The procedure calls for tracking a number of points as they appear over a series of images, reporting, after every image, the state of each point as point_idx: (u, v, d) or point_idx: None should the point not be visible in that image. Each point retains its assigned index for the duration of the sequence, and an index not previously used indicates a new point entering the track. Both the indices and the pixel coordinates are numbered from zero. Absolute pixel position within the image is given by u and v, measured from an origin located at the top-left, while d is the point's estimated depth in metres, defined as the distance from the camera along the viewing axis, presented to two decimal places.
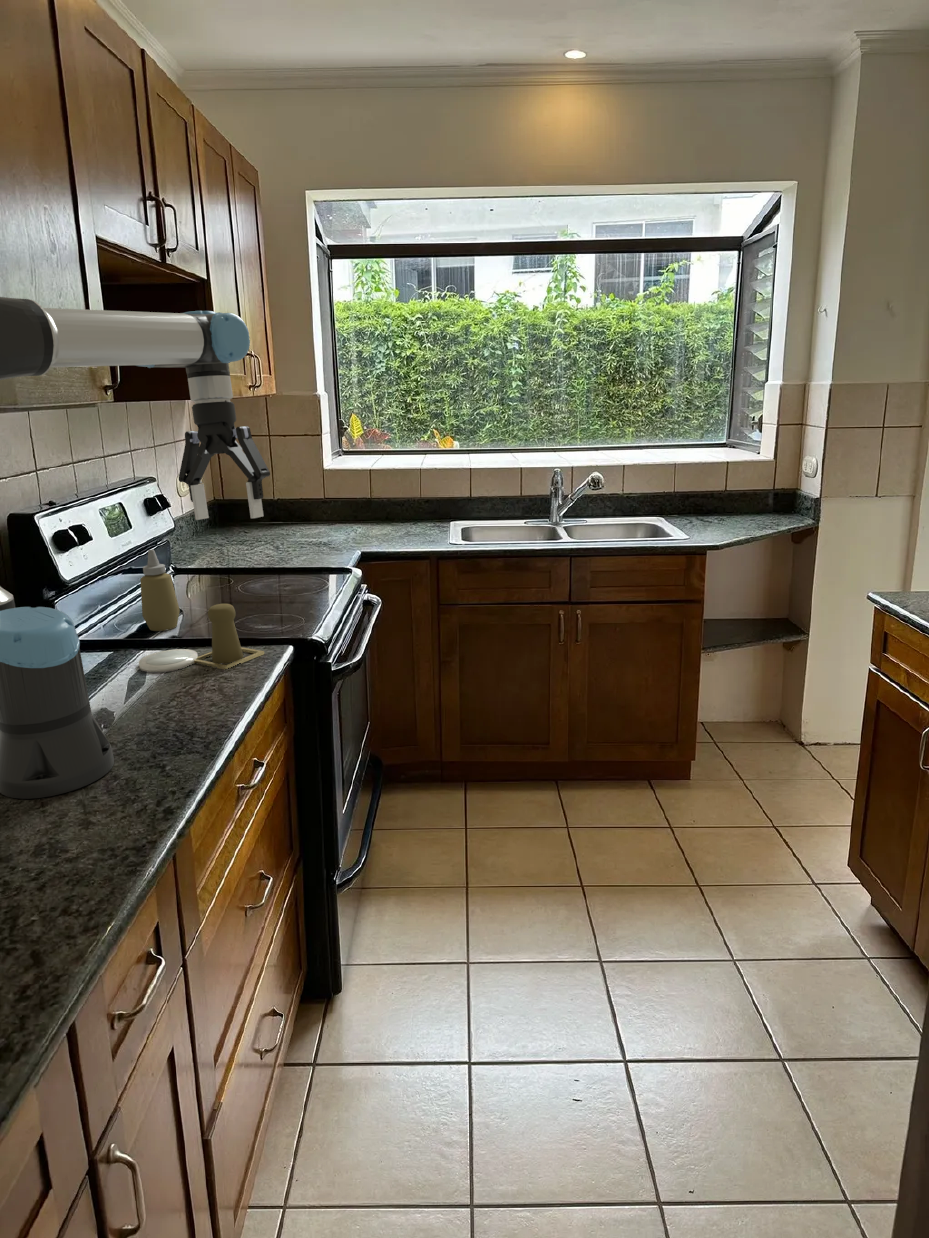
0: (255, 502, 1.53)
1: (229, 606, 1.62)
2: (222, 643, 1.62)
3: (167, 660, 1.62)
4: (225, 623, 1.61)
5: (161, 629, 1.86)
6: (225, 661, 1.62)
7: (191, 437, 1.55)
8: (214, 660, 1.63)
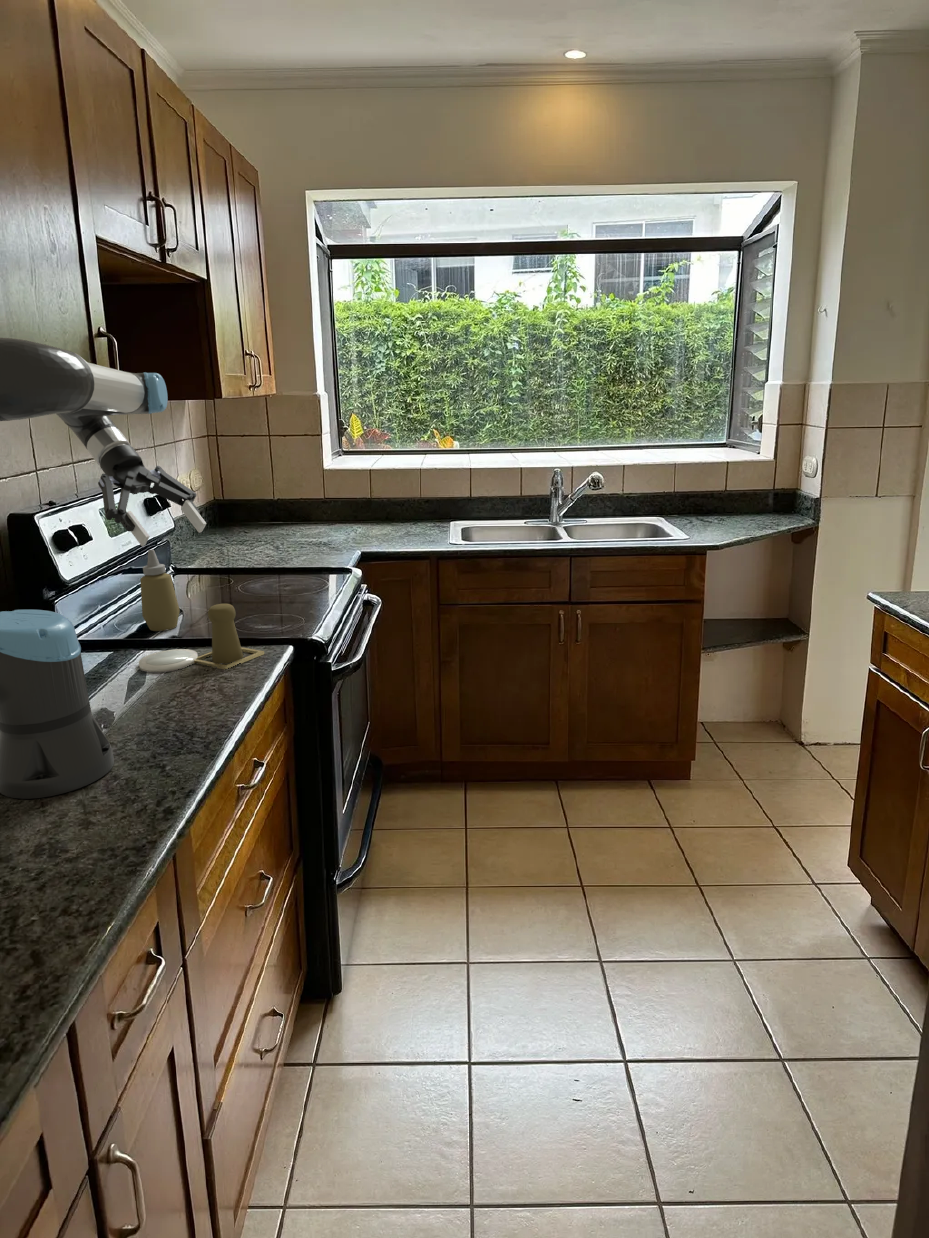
0: None
1: (229, 606, 1.62)
2: (222, 643, 1.62)
3: (167, 660, 1.62)
4: (225, 623, 1.61)
5: (161, 629, 1.86)
6: (225, 661, 1.62)
7: None
8: (214, 660, 1.63)
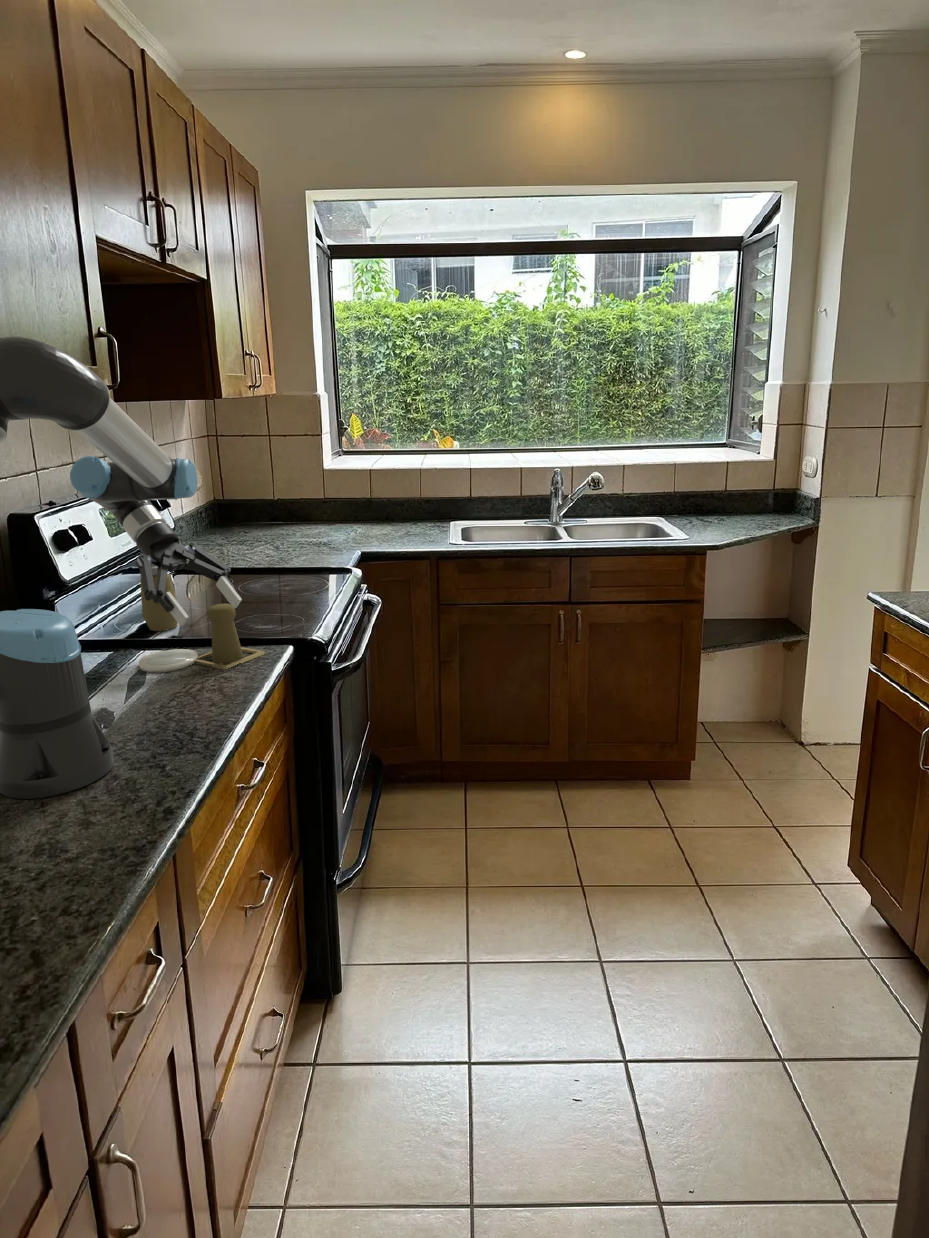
0: None
1: (229, 606, 1.62)
2: (222, 643, 1.62)
3: (167, 660, 1.62)
4: (225, 623, 1.61)
5: (161, 629, 1.86)
6: (225, 661, 1.62)
7: None
8: (214, 660, 1.63)
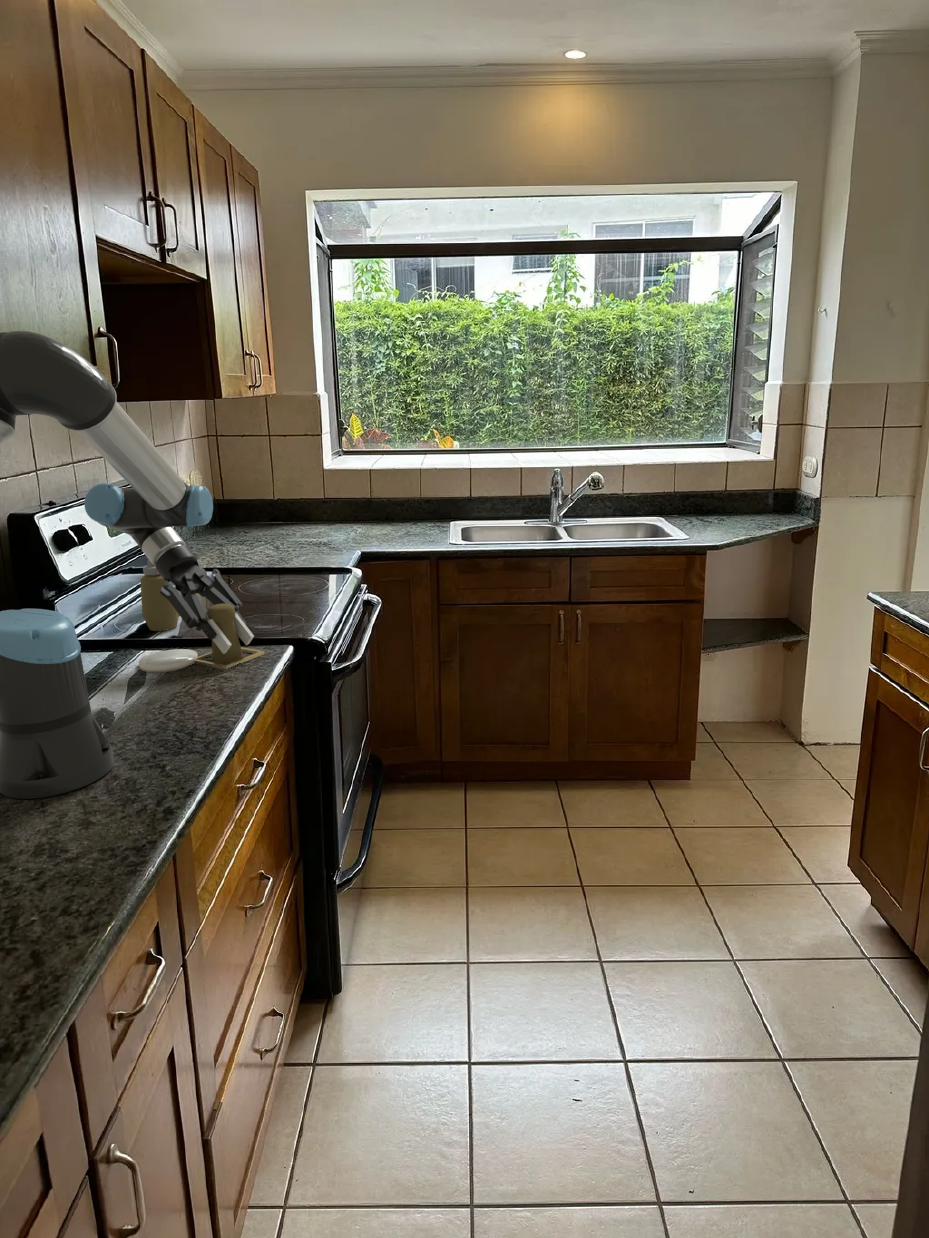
0: None
1: (228, 606, 1.62)
2: None
3: (167, 660, 1.62)
4: (225, 623, 1.61)
5: (161, 629, 1.86)
6: (225, 661, 1.62)
7: None
8: (214, 660, 1.63)
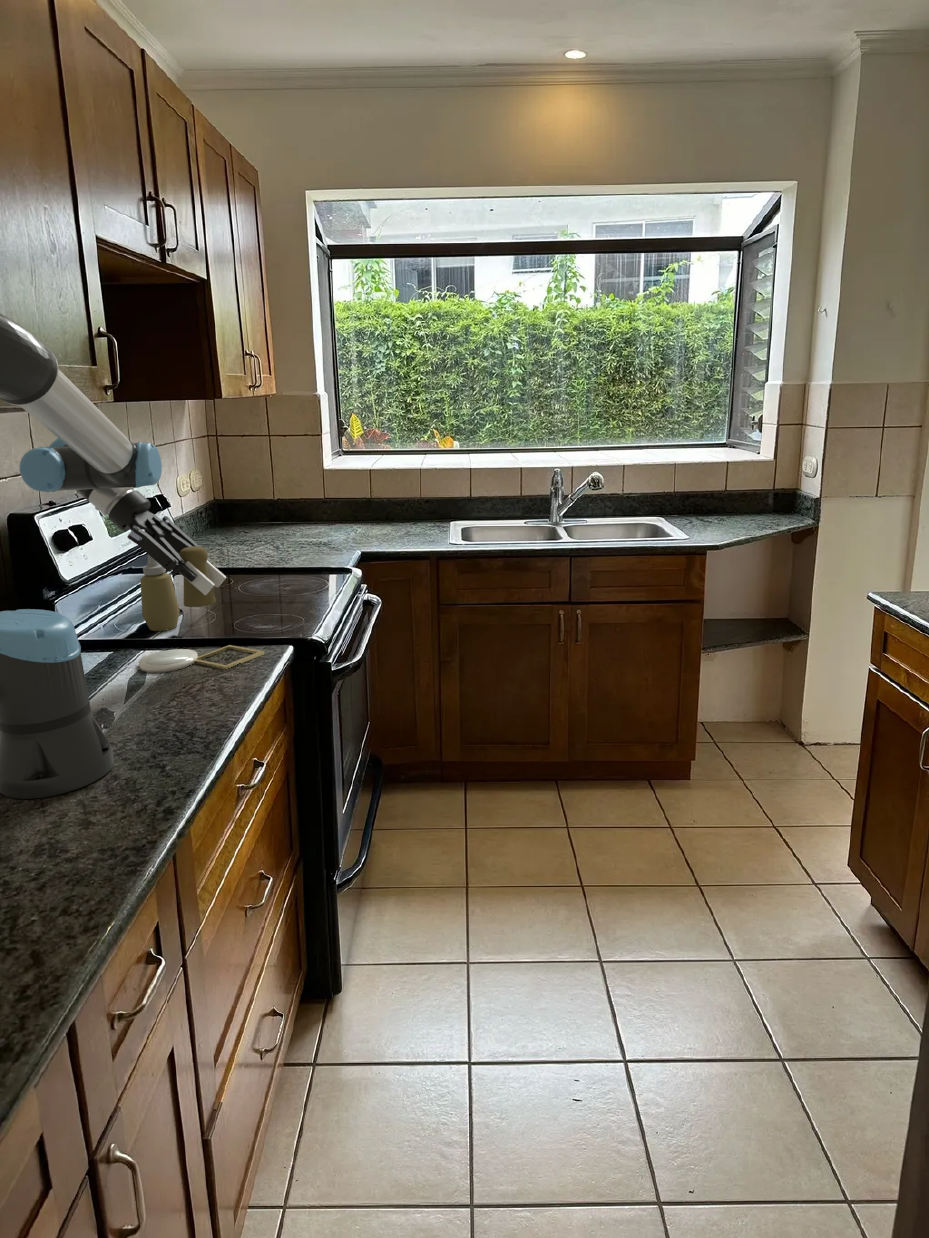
0: None
1: (202, 547, 1.59)
2: None
3: (167, 660, 1.62)
4: (201, 564, 1.58)
5: (161, 629, 1.86)
6: (204, 604, 1.59)
7: None
8: (190, 604, 1.59)
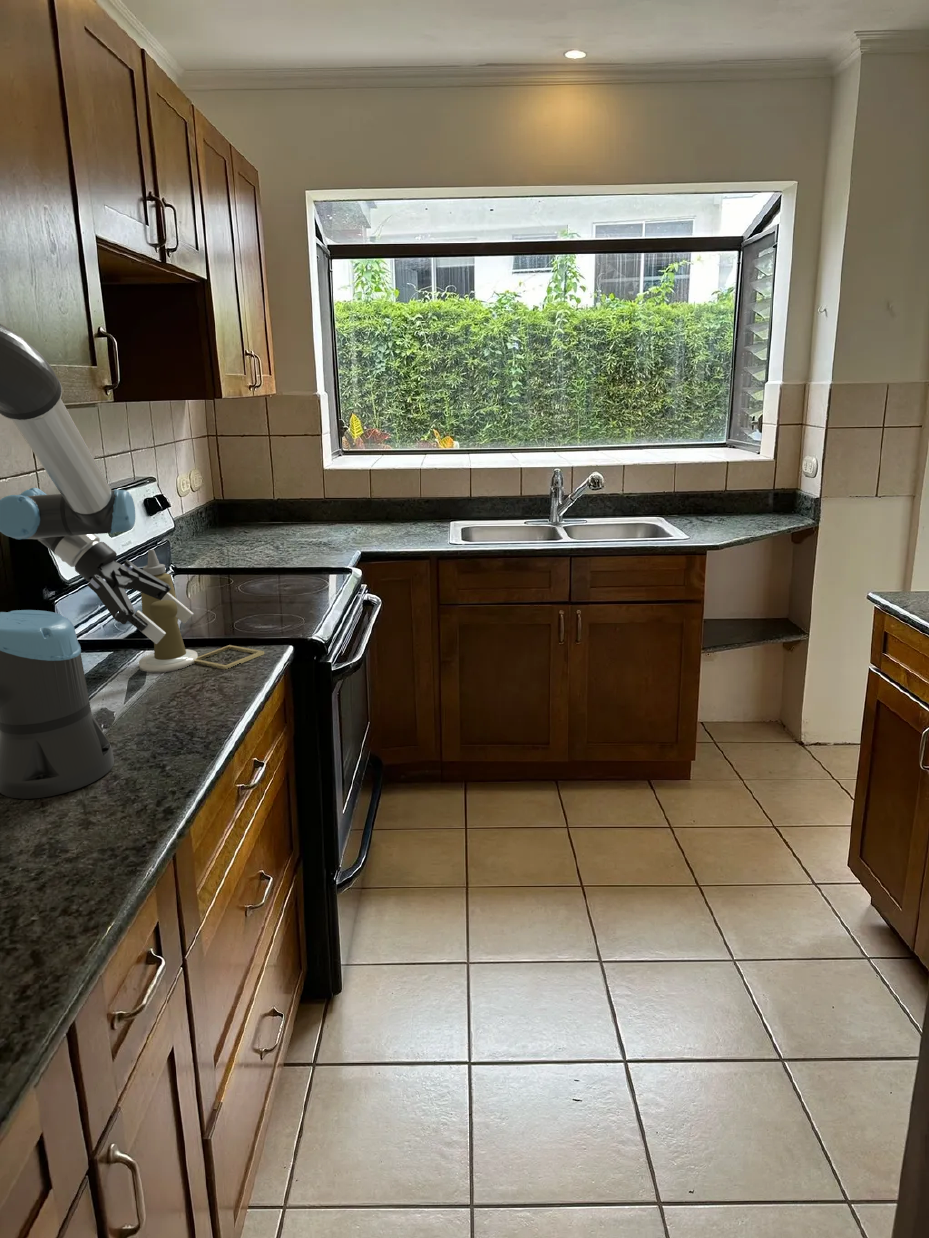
0: None
1: (171, 601, 1.63)
2: (170, 638, 1.62)
3: (167, 660, 1.62)
4: (171, 618, 1.62)
5: None
6: (174, 656, 1.63)
7: None
8: (161, 657, 1.63)
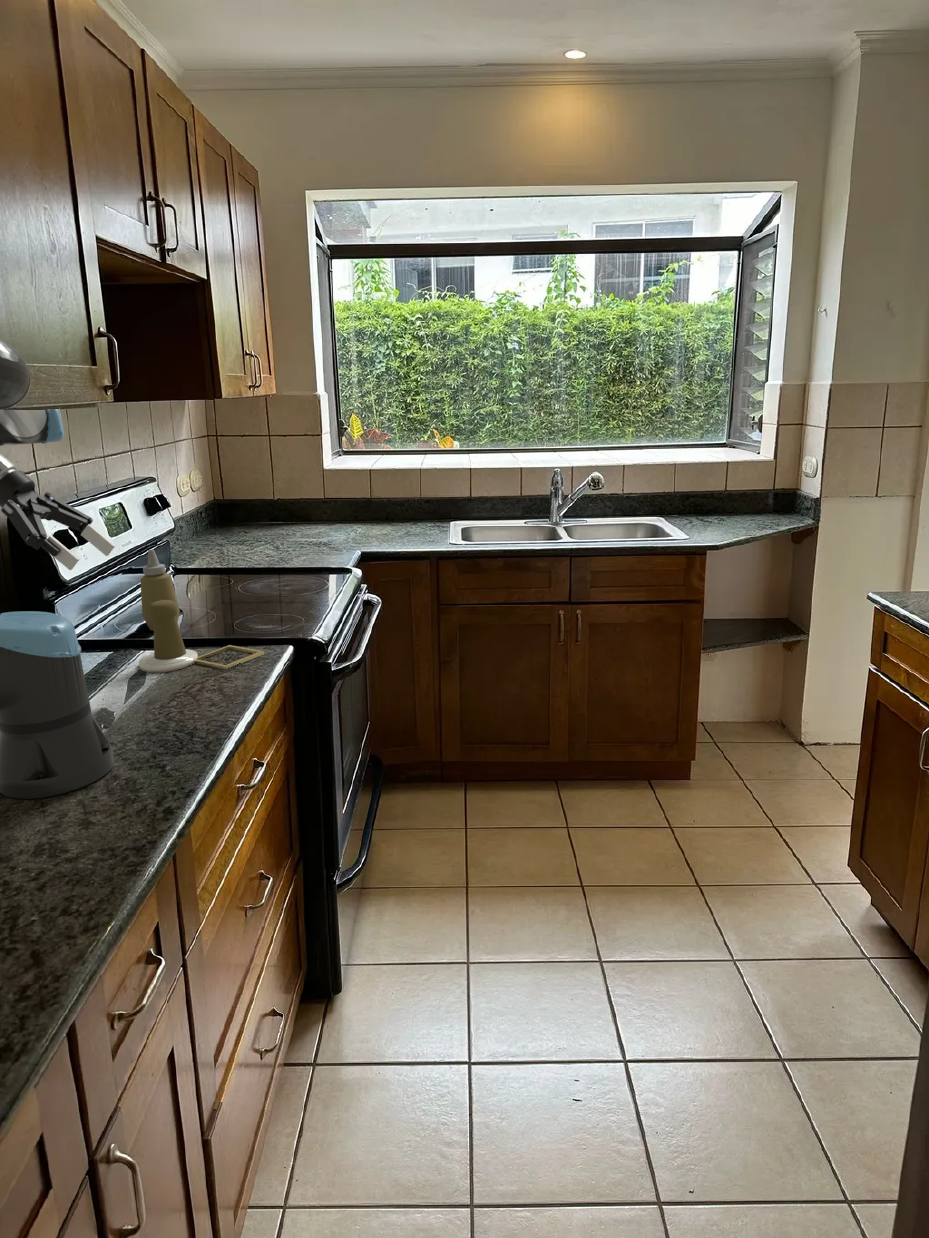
0: None
1: (171, 601, 1.63)
2: (170, 638, 1.62)
3: (167, 660, 1.62)
4: (171, 618, 1.62)
5: None
6: (174, 656, 1.63)
7: None
8: (161, 657, 1.63)
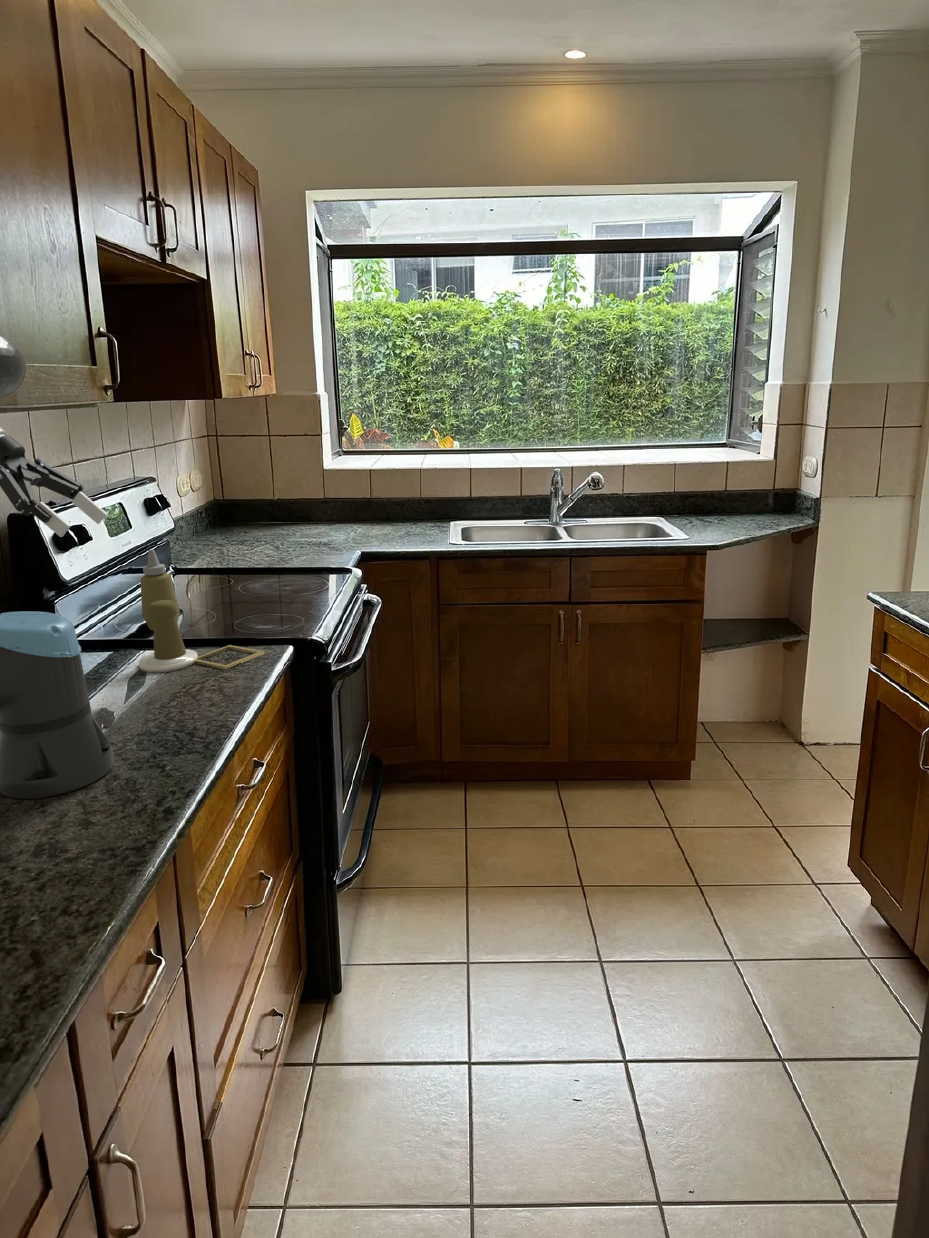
0: None
1: (171, 601, 1.63)
2: (170, 638, 1.62)
3: (167, 660, 1.62)
4: (171, 618, 1.62)
5: None
6: (174, 656, 1.63)
7: None
8: (161, 657, 1.63)
